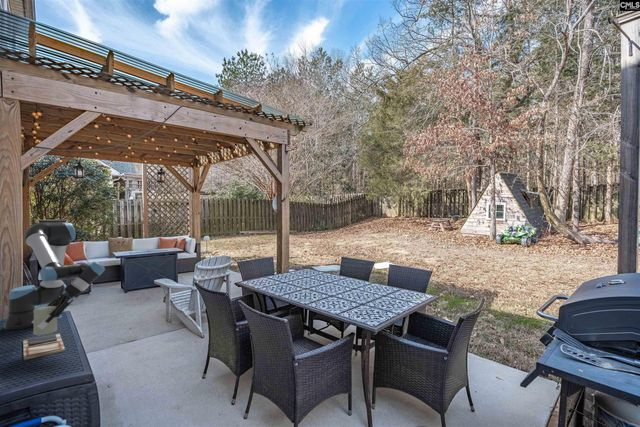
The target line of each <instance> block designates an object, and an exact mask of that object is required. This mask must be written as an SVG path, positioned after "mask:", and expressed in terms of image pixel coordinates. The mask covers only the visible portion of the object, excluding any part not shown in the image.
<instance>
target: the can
mask: <svg viewBox="0 0 640 427" xmlns="http://www.w3.org/2000/svg"><path fill="white" fill-rule="evenodd" d="M46 306H47V305H46ZM46 306H41V307H38V308H35V310H34V326H33V332H32V334H33V335H34V336H43V335H49V334H53V333H54V332H56V331H57V330H58V317H55V318H54V319H53V320H52V321H51V322H50V323H49V324H48V325H47V326H46V327H44V328H43V329H40V328H39V327H37V326H38V325H39V324H40V323H41V322H42V321H43V320H44V319H45V318H46V317H47V316H48V315H49V313H52V312H53V311H54V309H55V308H56V307H57V306H47V307H46Z"/></svg>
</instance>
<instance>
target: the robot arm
mask: <svg viewBox="0 0 640 427" xmlns="http://www.w3.org/2000/svg"><path fill="white" fill-rule="evenodd" d="M75 239H76V229H75V227H74V225H73V224H72V223H71V222H63V221H62V222H38V223H35V224H33V225H31V226H30V227H28V229H27V230H26V231H25V234H24V241H25V243H26V245H28V247H31V250H32V251H33V253H34V255H35V257H36V258H37V260H38V261H39V263H40V265H41V267H42V268H41V270H40V271H39V272H40V275H39V276H40V279H41V282H40V283H39V286H35V285H34V284H32V285H30V284H29V285H23V286H18V287H15V288H13V289H11V290H10V291H9V293H8V297H7V300H8V311H7V312H8V315H7V317H6V319H5V322H4V323H3V329H4V330H7V331H15V330H16V331H17V330H24V329H28V328H31V327H34V310H35V309H36V307H39V306H43V305H46V306H45V307H47V306H57V307H56V308H55V309H54V311H53V312H52V313H49V315H48V316H47V317H46V318H45V319H44V320H43V321H42V322H41V323H40V324H39V325H38V326H37V327H39V328H40V329H43V328H44V327H46V326H47V325H48V324H49V323H50V322H51V321H52V320H53V319H54V318H55V317H57V318H58V317H60V316H61V314H62V313H63V312H64V311H65V310H66V309H67V307H68V306H69V305H70V304H71V303H73V302H74V299H73V297H74V298H75V299H76V298H77V299H78V297H79V296H80V295H81V294H82V293H83V292H84V291H85V290H86V289H89V286H91V284H93V282H95V281H96V280H97V279H98V278H99V277H100V276H101V275H102V274H103V273H104V272H105V270H106V268H105V266H103V265H102V264H101V263H99V262H98V261H93V262H91V263H90V264H88V263H86V262H81V261H80V262H76V263H73V264H64V263H65V257H66V253H67V247H68V246H69V245H70V244H71V242H73V241H75ZM68 279H69V280H70V279H72V281H71V282H70V284H68V285H67V284H65V283H64V281H63V280H68Z"/></svg>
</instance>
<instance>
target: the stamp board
mask: <svg viewBox="0 0 640 427" xmlns="http://www.w3.org/2000/svg"><path fill="white" fill-rule="evenodd" d="M22 343H23V344H22V346H23V361H27V360H31V359H35V358H40V357H45V356H49V355H53V354H58V353H62V352H65V351H66V347H65V345H64V342H63V339H62V337H61V334H60V332H59V333H54V332H53V333H49V334H44V335H37V336H35V337H29V338H27V339H23V340H22Z"/></svg>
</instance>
